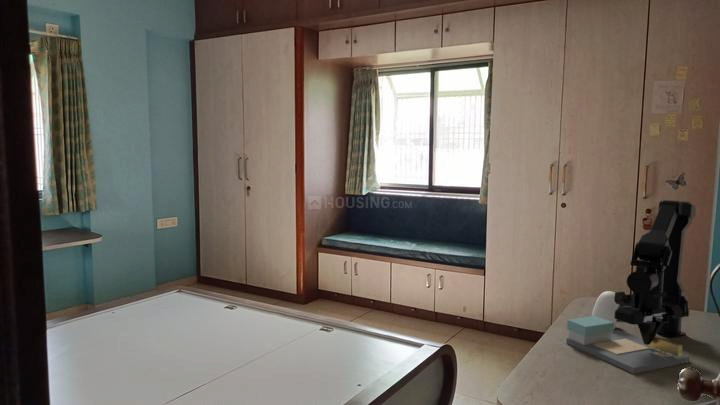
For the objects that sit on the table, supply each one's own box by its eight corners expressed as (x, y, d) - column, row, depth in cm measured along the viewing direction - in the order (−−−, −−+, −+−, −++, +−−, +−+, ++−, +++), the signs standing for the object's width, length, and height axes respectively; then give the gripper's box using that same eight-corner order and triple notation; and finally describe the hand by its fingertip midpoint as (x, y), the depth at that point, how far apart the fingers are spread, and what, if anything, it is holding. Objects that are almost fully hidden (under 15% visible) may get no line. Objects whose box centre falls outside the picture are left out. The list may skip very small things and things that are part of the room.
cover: (594, 325, 149) (595, 315, 148) (613, 332, 142) (613, 322, 142) (567, 329, 145) (567, 319, 144) (585, 336, 139) (585, 326, 138)
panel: (618, 334, 152) (618, 321, 152) (689, 362, 132) (690, 347, 131) (566, 343, 145) (567, 329, 144) (633, 373, 124) (634, 358, 124)
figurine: (617, 334, 153) (619, 295, 151) (589, 329, 157) (591, 291, 156) (619, 327, 159) (621, 290, 158) (592, 323, 163) (594, 286, 162)
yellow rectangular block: (650, 347, 138) (651, 333, 138) (681, 359, 130) (682, 345, 129) (645, 348, 137) (646, 334, 137) (677, 360, 129) (678, 346, 129)
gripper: (648, 277, 145) (644, 330, 146) (599, 282, 138) (596, 338, 140) (685, 286, 135) (681, 343, 136) (634, 293, 128) (631, 352, 129)
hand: (646, 344), depth 136 cm, fingers closed
